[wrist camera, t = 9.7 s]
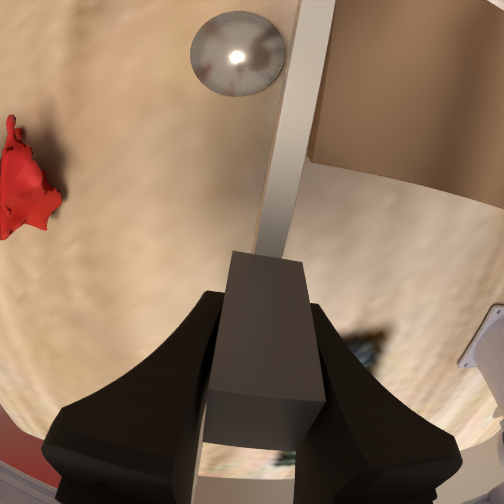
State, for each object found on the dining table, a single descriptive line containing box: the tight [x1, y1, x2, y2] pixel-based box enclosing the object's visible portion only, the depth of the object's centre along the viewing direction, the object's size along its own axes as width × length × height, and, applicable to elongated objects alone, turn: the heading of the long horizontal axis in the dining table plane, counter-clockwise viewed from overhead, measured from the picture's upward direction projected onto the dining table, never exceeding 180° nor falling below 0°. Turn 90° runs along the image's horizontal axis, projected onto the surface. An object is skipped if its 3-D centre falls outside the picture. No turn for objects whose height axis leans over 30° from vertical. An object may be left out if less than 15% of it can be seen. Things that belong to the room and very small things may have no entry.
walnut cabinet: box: [307, 0, 504, 209], centre depth 13 cm, size 14×10×6 cm
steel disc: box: [190, 11, 285, 96], centre depth 15 cm, size 5×5×2 cm
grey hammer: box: [202, 0, 335, 451], centre depth 10 cm, size 2×23×8 cm, turn 170°
